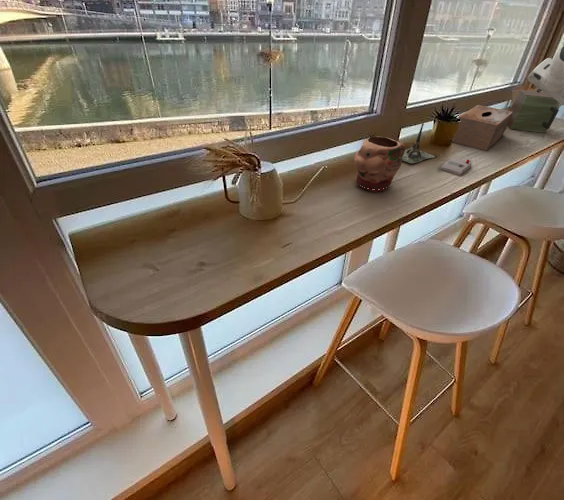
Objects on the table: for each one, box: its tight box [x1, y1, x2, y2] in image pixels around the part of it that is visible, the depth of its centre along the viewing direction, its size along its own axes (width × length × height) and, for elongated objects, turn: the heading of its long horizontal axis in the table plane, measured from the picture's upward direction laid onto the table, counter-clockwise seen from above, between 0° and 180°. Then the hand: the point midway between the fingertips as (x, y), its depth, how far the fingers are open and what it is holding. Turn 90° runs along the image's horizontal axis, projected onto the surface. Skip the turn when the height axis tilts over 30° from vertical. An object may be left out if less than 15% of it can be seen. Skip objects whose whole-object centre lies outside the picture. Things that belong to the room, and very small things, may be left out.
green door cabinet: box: [507, 89, 553, 129], centre depth 151 cm, size 11×15×15 cm
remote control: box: [440, 157, 473, 176], centre depth 114 cm, size 7×16×3 cm, turn 136°
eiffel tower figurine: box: [402, 122, 436, 164], centre depth 118 cm, size 15×10×13 cm
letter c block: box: [510, 96, 561, 134], centre depth 144 cm, size 6×15×14 cm, turn 73°
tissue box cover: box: [451, 104, 513, 152], centre depth 137 cm, size 26×14×10 cm, turn 138°
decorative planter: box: [353, 135, 406, 193], centre depth 99 cm, size 20×12×14 cm, turn 128°
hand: (549, 97), depth 127 cm, fingers open, 8 cm apart
